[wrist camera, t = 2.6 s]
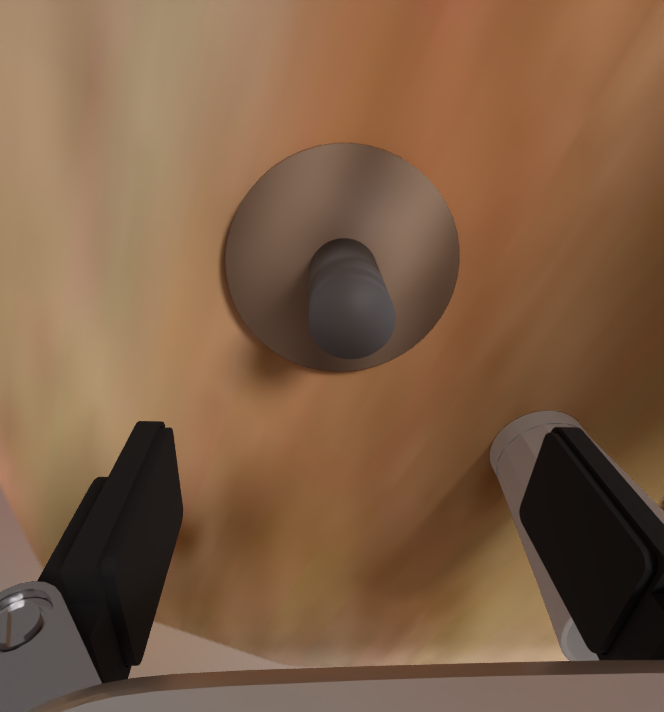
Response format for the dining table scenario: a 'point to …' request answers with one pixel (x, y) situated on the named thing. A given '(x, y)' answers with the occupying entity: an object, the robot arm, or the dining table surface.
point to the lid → (342, 257)
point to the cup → (513, 470)
